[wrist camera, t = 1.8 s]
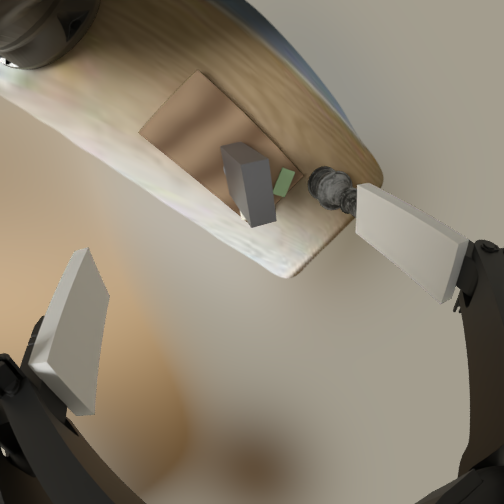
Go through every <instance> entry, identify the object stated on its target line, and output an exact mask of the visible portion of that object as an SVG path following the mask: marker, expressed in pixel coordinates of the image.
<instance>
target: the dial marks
mask: <svg viewBox="0 0 504 504" xmlns="http://www.w3.org/2000/svg"><path fill="white" fill-rule="evenodd" d="M294 174H295V172H294V171H291V170H288V169H285V168H283V167H282V169H281V171H280V174H279V176H278V179H277V181H276V183H275V186H274V188H273V194H275V195H279V196H282V197H285V196H286V193H287V191H288V188H289V186H290V184H291V181H292V179H293V176H294Z"/></svg>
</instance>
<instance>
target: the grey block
mask: <svg viewBox="0 0 504 504" xmlns="http://www.w3.org/2000/svg"><path fill="white" fill-rule="evenodd" d="M220 149H221V154H222V159H223V164H224V166H223V170H224V173H225V175H226V179H227V185H228V190H229V194H230V196H231V197H232V199H233V200H234V202H235V203H236V205H237V207H238V208H239V210H240V215H241V219H242V221H243V220H247V222H248V223H249V225H250V226H251V228H253V227H256V226H260V225H264V224H267V223H271V222H275V221H277V220H276V212H275V204H274V196H273V188H272V180H271V173H270V165H269V159H268V158H267V157H265V156H264V155H262V154H260V153H259V152H257V151H256V150H254V149H252V148H251V147H249V146H248V145H246V144H244V143H243V142H236V143H232V144H227V145H223V146H220Z"/></svg>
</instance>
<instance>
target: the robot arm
mask: <svg viewBox="0 0 504 504" xmlns="http://www.w3.org/2000/svg"><path fill="white" fill-rule="evenodd" d="M99 3H100V0H0V62H1V63H3V64H4V65H6V66H8V67H11V68H16V69H35V68H39V67H42V66H45V65H47V64H49V63H51V62H53V61H55V60H57V59H58V58H60V57H61V56H63V55H64V54H66V53H67V52H68V51H69V50H70V49H71V48H73V47H74V46H75V45H76V44H77V43H78V42H79V40H80V39H81V38H82V37H83V36H84V34H85V33H86V32H87V30H88V29H89V27H90V26H91V24H92V22H93V20H94V18H95V16H96V14H97V11H98V8H99ZM356 234H357V235H359V236H360V237H362V238H363V239H364V240H365V241H367V242H368V243H369V244H370V245H371V246H373V247H374V248H375V249H377V250H378V251H379V252H380V253H382V254H383V255H384V256H385V257H386V258H388V259H389V260H390V261H391V262H392V263H394V264H395V265H396V266H397V267H398V268H400V269H401V270H402V271H404V273H406V274H407V275H408V276H409V277H410V278H411V279H413V280H414V281H415V282H416V283H417V284H418V285H420V286H421V287H422V288H423V289H424V290H425V291H426V292H427V293H429V294H430V295H431V296H432V297H433V298H434V299H435V300H436V301H437V302H438V303H440V304H442V303H444V302H446V301H447V300H449V299H451V298H452V296H453V293H454V290H455V287H456V286H457V287H458V288H459V289H461V290H460V293H459V295H458V298H457V301H456V303H455V306H454V309H453V312H456V310H457V307H458V306H460V310H459V313H462V320H463V326H464V333H465V340H466V348H467V357H468V369H469V384H470V436H469V443H468V446H467V448H466V450H465V452H464V453H463V455H462V459H461V461H460V466H459V472H458V478H457V479H456V480H454V481H452V482H451V483H448V484H447V485H445V486H443V487H441V488H439V489H437V490H435V491H433V492H431V493H430V494H429V495H427V496H426V497H424V498H423V499H421V500H420V501H418V502H417V503H415V504H504V248H499V247H498V246H497V245H495V244H494V243H492V242H490V241H486V240H477V241H476V242H475V243H473V242H471V241H470V240H469V239H468V238H466V237H465V236H463V235H462V234H460V233H459V232H457V231H455V230H454V229H452V228H451V227H449V226H447V225H446V224H444V223H442V222H441V221H439V220H437V219H435V218H434V217H432V216H430V215H429V214H427V213H425V212H423V211H422V210H420V209H418V208H416V207H414V206H412V205H411V204H409V203H407V202H405V201H403V200H402V199H400V198H398V197H396V196H394V195H392V194H390V193H388V192H386V191H384V190H382V189H380V188H378V187H376V186H374V185H372V184H370V183H365V184H359V185H357V212H356ZM109 297H110V295H109V294H108V291H107V289H106V287H105V285H104V283H103V280H102V278H101V276H100V274H99V271H98V269H97V267H96V265H95V262H94V260H93V257H92V255H91V253H90V250H89V248H88V247H87V248H84V249H81V250H77V251H74V253H73V255H72V257H71V259H70V261H69V263H68V265H67V267H66V269H65V271H64V273H63V275H62V277H61V280H60V282H59V284H58V286H57V288H56V291H55V293H54V295H53V297H52V300H51V302H50V305H49V307H48V309H47V312H46V314H45V316H42V317H41V318H40V320H39V321H38V322H37V324H36V325H35V327H34V329H33V332H32V334H31V338H30V340H29V342H28V346H27V348H26V351H25V354H24V357H23V360H22V363H21V366H20V368H19V367H18V366H17V365H16V364H15V362H14V361H13V360H12V359H11V357H10V356H9V355H8V354H5V353H4V354H0V504H146V503H145V502H144V501H143V500H142V499H140V498H139V497H138V496H137V495H136V494H135V493H134V492H133V491H132V490H131V489H130V488H129V487H128V486H127V485H126V484H124V482H123V481H122V480H121V479H120V478H119V477H118V476H117V475H116V474H115V473H114V472H113V471H112V470H111V469H110V468H109V467H108V466H107V464H106V463H105V462H104V461H103V460H102V459H101V458H100V457H99V455H98V454H97V453H96V452H95V451H94V450H93V449H92V447H91V446H90V445H89V444H88V442H87V441H86V440H85V438H84V437H83V436H82V435H81V433H80V432H79V431H78V429H77V428H76V427H75V426H74V424H73V423H72V421H71V420H70V419H68V418H67V417H66V412H67V407H68V408H69V409H70V410H71V411H72V412H73V413H74V414H75V415H76V416H83V415H94V414H95V400H96V399H95V398H96V386H97V376H98V367H99V359H100V351H101V343H102V337H103V330H104V324H105V318H106V312H107V307H108V302H109ZM1 447H2V448H3V449H4V450H5V453H6V456H4V455H3V453H2V451H1Z"/></svg>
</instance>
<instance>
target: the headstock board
mask: <svg viewBox="0 0 504 504" xmlns="http://www.w3.org/2000/svg"><path fill="white" fill-rule="evenodd" d="M138 133H139V134H140V135H141V136H143V137H144V138H145V139H146V140H148V141H149V142H150V143H151V144H153V145H154V146H155V147H156V148H158V149H159V150H160V151H161V152H163V153H164V154H165V155H166V156H168V157H169V158H170V159H171V160H173V161H174V162H175V163H176V164H178V165H179V166H180V167H181V168H182V169H184V170H185V171H186V172H187V173H189V174H190V175H191V176H192V177H193V178H195V179H196V180H197V181H198V182H200V183H201V184H202V185H203V186H204V187H206V188H207V189H208V190H209V191H210V192H212V193H213V194H214V195H215V196H217V197H218V198H219V199H220V200H221V201H223V202H224V203H225V204H226V205H227V206H229V207H230V208H231V209H232V210H233V211H235V212H236V213H237V214H238V215H239V216H241V215H240V210H239V208H238V207H237V205H236V203H235V202H234V200H233V199H232V197H231V196H230V194H229V190H228V185H227V179H226V175H225V173H224V170H223V166H224V164H223V159H222V154H221V149H220V146H223V145H227V144H232V143H236V142H243V143H244V144H246V145H248V146H249V147H251V148H252V149H254V150H256V151H257V152H259V153H260V154H262V155H264V156H265V157H267V158H268V159H269V165H270V173H271V180H272V188H274V186H275V183H276V181H277V179H278V176H279V174H280V171H281V169H282V167H283V168H285V169H288V170H291V171H294V172H295V174H294V176H293V179H292V181H291V184H290V186H289V188H288V191H289V190H290V189H291V188H292V187H293V186H294V185H295V184H296V183H297V182H298V181H299V180H300V179H301V178H302V177H303V175H302V174H301V172H300V171H299V170H298V169H297V168H296V167H295V166H294V165H293V164H292V162H291V161H290V160H289V159H288V158H287V157H286V156H285V155H284V154H283V153H282V152H281V150H280V149H279V148H278V147H277V146H276V145H275V144H274V143H273V142H272V141H271V140H270V139H269V138H268V137H267V136H266V135H265V134H264V133H263V132H262V131H261V130H260V129H259V127H258V126H257V125H256V124H255V123H254V122H253V121H252V120H251V119H250V118H249V117H248V116H247V115H246V114H245V113H244V112H242V111H241V110H240V109H239V108H238V107H237V106H236V105H235V104H234V103H233V102H232V101H231V100H230V99H229V98H228V97H227V96H226V95H225V94H224V93H223V92H222V91H220V90H219V89H218V88H217V87H216V86H215V85H214V84H213V83H212V82H211V81H210V80H208V79H207V78H206V77H205V76H204V75H203V74H202V73H201V72H199V71H198V70H197V71H195V72H194V73H193V74H192V75H191V76H190V77H189V78H188V79H187V80H186V81H185V82H184V83H183V84H182V85H181V86H180V87H179V88H178V89H177V90H176V91H175V92H174V93H173V94H172V95H171V96H170V97H169V98H168V100H167V101H166V102H165V103H164V104H163V105H162V106H161V107H160V108H159V109H158V110H157V112H156V113H155V114H154V115H153V116H152V117H151V118H150V119H149V121H148V122H147V123H146V124H145V125H144V126H143V128H142V129H141V130H140V131H139V132H138ZM288 191H287V192H288ZM273 196H274V204H276V203H277V202H278V201H279V200H280V199H281V198H282V196H279V195H275V194H273ZM245 221H246V222H247V220H245Z"/></svg>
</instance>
